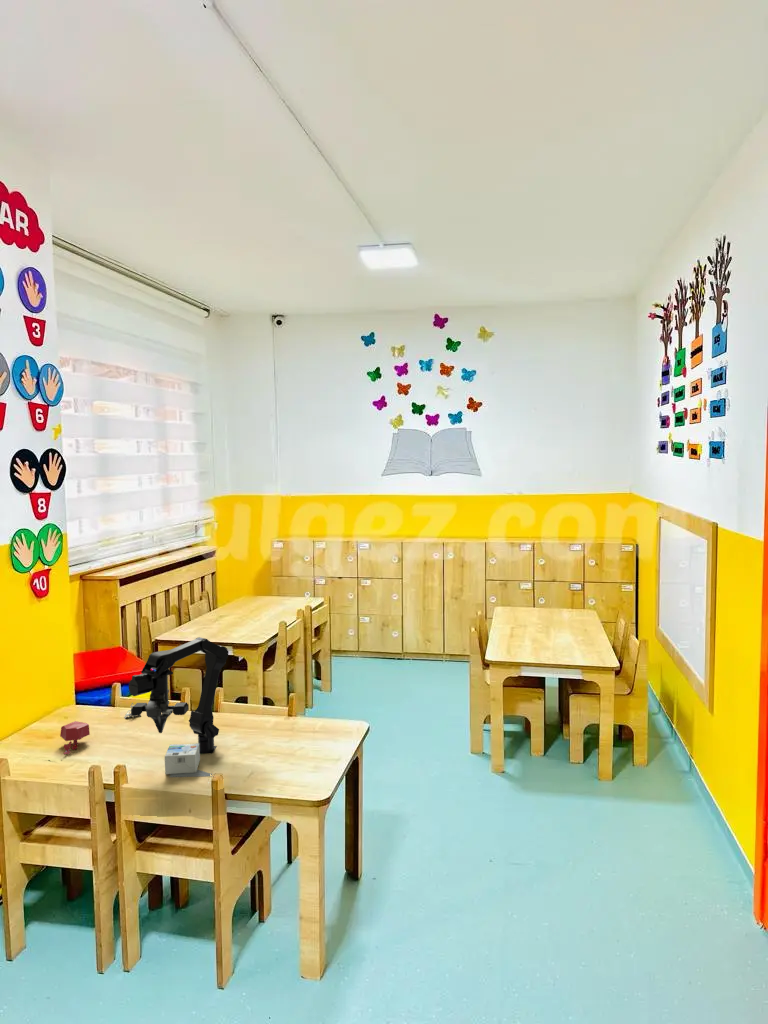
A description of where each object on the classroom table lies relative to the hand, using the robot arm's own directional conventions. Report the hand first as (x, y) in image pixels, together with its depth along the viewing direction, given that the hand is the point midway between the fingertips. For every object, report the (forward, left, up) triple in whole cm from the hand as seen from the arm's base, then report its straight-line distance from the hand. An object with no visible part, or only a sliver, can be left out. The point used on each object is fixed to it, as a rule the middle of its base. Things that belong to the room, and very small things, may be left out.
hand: (160, 732), depth 259 cm
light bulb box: (+6, +8, -9) cm, 14 cm away
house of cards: (-54, -29, -14) cm, 63 cm away
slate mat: (+2, +15, -13) cm, 20 cm away
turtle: (-18, -40, -14) cm, 46 cm away
